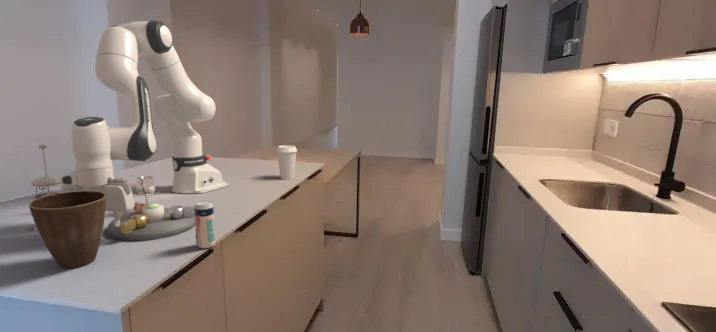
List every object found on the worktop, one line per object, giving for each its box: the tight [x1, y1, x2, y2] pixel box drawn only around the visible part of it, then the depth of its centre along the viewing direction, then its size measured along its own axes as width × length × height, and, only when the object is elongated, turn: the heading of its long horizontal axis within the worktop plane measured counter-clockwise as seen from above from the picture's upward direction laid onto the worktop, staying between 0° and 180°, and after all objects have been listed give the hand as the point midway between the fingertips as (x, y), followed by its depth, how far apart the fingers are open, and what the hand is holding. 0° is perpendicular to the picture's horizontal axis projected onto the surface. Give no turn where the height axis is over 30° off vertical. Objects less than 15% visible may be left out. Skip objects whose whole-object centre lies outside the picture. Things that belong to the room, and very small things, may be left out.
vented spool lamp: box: [30, 144, 62, 232], centre depth 123 cm, size 10×12×25 cm
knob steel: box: [168, 205, 195, 219], centre depth 127 cm, size 8×4×3 cm, turn 110°
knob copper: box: [132, 201, 149, 214], centre depth 130 cm, size 8×4×3 cm, turn 50°
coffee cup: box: [276, 144, 298, 181], centre depth 190 cm, size 10×10×15 cm
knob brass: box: [120, 214, 147, 233], centre depth 116 cm, size 8×4×3 cm, turn 170°
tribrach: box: [107, 202, 195, 242], centre depth 125 cm, size 24×24×7 cm
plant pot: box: [28, 191, 106, 269], centre depth 98 cm, size 15×15×16 cm
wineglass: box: [135, 175, 156, 204], centre depth 138 cm, size 6×6×12 cm
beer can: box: [194, 200, 216, 250], centre depth 109 cm, size 5×5×12 cm
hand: (101, 224), depth 115 cm, fingers open, 8 cm apart
